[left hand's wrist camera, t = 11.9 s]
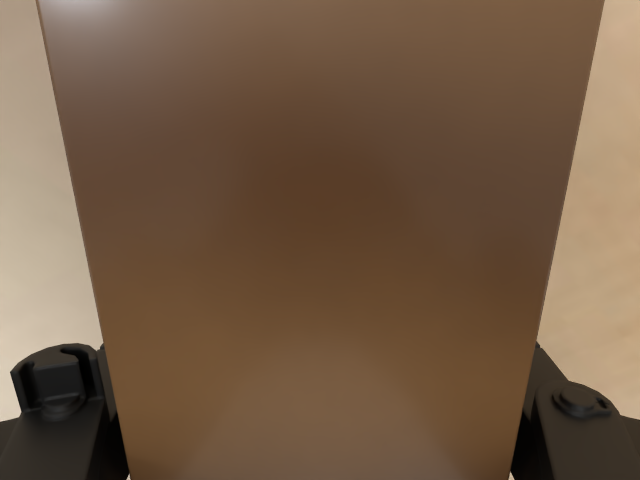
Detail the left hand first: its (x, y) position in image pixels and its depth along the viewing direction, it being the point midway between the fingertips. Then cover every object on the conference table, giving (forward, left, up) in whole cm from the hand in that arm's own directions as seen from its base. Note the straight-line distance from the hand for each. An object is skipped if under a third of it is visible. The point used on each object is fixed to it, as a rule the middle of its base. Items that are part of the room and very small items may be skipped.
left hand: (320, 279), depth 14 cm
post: (-3, +32, -1) cm, 33 cm away
